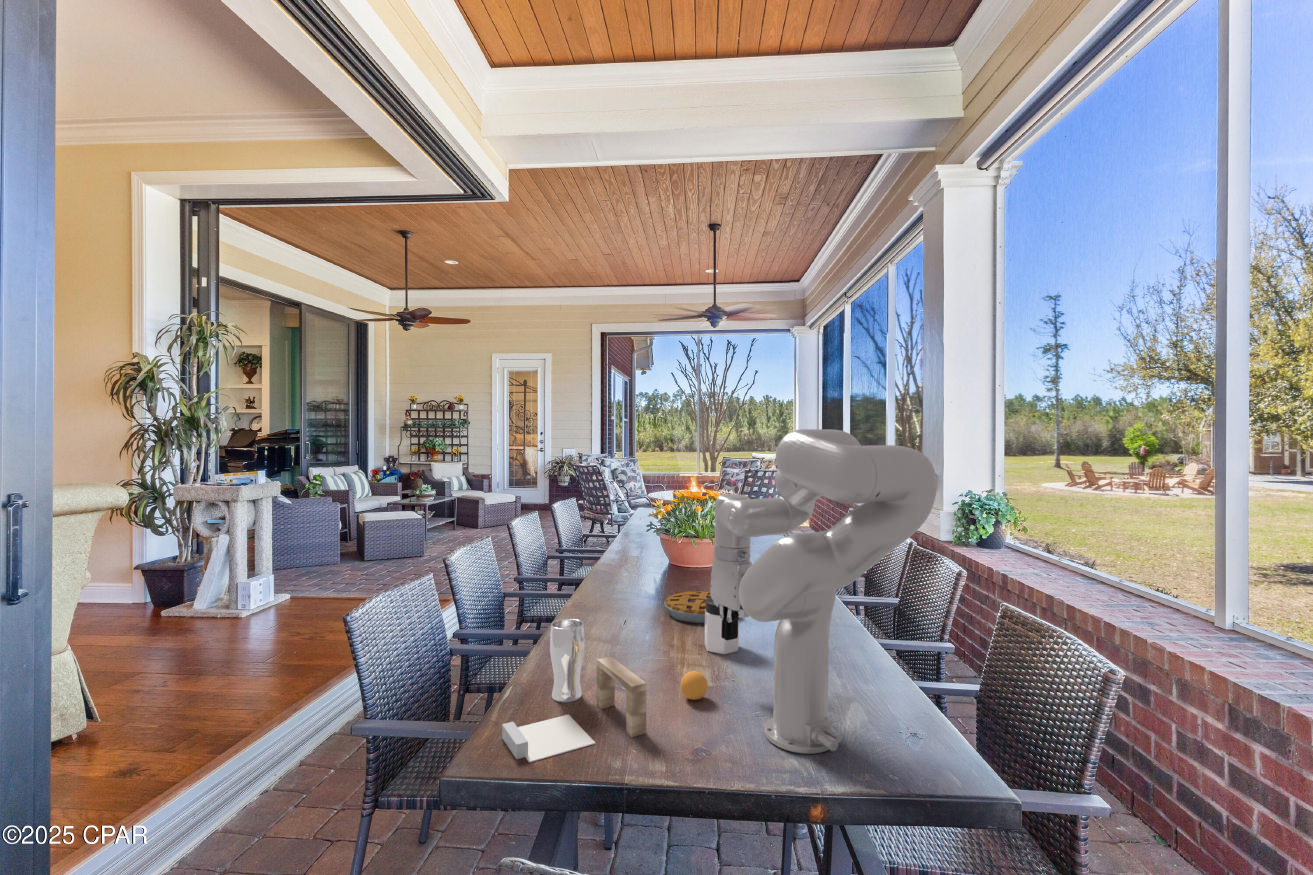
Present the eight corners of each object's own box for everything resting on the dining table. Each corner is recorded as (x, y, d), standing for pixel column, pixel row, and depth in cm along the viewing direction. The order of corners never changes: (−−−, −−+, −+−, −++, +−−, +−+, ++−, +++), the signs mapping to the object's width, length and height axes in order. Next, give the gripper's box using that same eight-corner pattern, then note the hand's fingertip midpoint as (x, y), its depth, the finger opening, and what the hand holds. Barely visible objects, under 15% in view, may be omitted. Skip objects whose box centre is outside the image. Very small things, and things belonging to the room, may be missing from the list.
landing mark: (595, 743, 107) (595, 742, 107) (529, 762, 101) (529, 761, 101) (568, 715, 118) (568, 714, 118) (506, 730, 111) (506, 729, 111)
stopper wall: (528, 756, 103) (528, 741, 103) (516, 759, 102) (516, 744, 102) (513, 735, 110) (513, 721, 110) (502, 737, 109) (502, 724, 109)
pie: (668, 601, 195) (668, 585, 194) (738, 604, 191) (738, 589, 191) (659, 623, 173) (659, 605, 173) (737, 627, 170) (737, 610, 170)
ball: (712, 700, 124) (713, 673, 124) (690, 707, 121) (690, 679, 121) (697, 690, 129) (697, 664, 129) (675, 696, 126) (675, 669, 126)
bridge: (610, 701, 123) (610, 656, 123) (646, 733, 111) (646, 682, 111) (596, 704, 122) (596, 659, 122) (631, 737, 110) (631, 686, 109)
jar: (717, 656, 148) (718, 607, 148) (697, 646, 155) (697, 599, 154) (745, 649, 153) (746, 601, 152) (724, 639, 160) (725, 594, 159)
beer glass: (568, 706, 121) (569, 631, 121) (542, 698, 125) (542, 624, 124) (590, 693, 127) (591, 621, 127) (564, 685, 131) (565, 616, 130)
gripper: (769, 559, 125) (766, 647, 126) (724, 544, 138) (722, 624, 139) (740, 563, 121) (737, 654, 122) (697, 547, 134) (695, 629, 135)
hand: (729, 637), depth 131 cm, fingers closed
